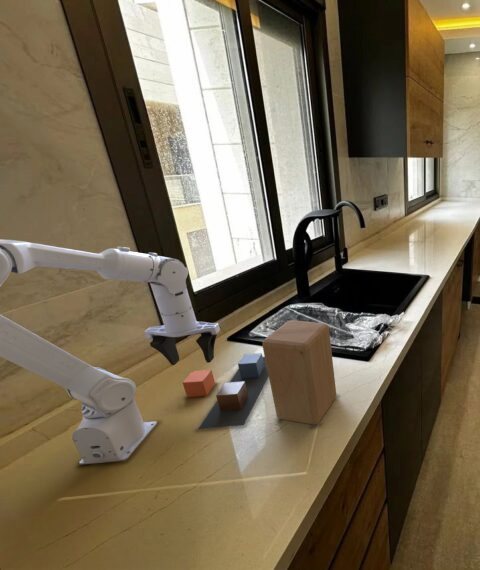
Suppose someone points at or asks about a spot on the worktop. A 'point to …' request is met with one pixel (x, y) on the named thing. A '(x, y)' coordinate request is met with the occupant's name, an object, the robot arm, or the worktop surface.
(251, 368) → the slate-blue block
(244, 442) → the worktop surface
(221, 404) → the walnut block
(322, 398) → the wooden block
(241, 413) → the line mat
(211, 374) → the terracotta block
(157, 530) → the worktop surface
